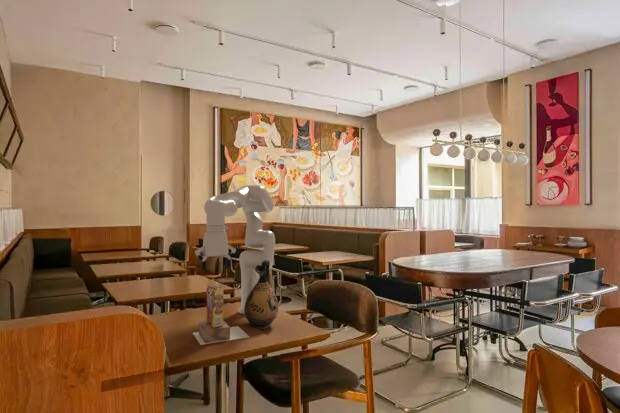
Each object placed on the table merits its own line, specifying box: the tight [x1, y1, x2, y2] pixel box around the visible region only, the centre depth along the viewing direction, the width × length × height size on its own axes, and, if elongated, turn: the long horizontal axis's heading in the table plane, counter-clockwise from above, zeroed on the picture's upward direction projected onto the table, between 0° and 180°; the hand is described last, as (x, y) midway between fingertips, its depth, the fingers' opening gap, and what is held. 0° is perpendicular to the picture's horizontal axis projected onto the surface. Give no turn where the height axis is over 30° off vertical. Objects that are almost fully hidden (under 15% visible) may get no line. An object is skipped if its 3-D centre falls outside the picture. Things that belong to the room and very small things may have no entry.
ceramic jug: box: [244, 260, 279, 330], centre depth 182 cm, size 17×15×30 cm
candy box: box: [205, 285, 225, 327], centre depth 165 cm, size 9×4×15 cm, turn 35°
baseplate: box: [192, 325, 250, 346], centre depth 167 cm, size 20×16×1 cm
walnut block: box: [198, 319, 231, 344], centre depth 164 cm, size 10×12×5 cm
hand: (216, 269), depth 168 cm, fingers open, 9 cm apart
